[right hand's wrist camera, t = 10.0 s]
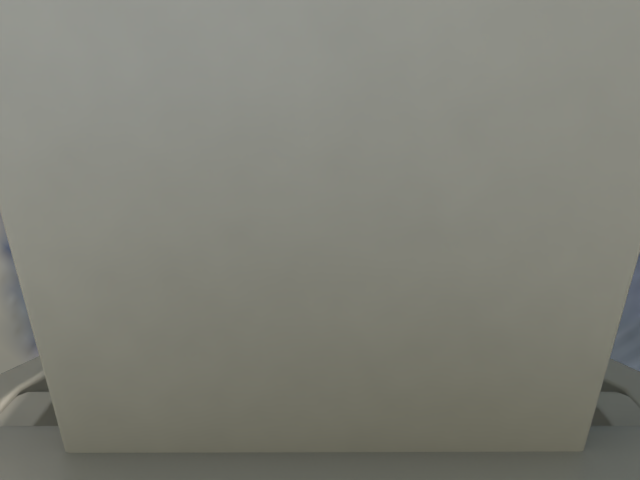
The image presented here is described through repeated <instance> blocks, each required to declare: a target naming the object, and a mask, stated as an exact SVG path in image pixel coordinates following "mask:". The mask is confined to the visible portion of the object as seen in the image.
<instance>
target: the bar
mask: <svg viewBox="0 0 640 480" xmlns="http://www.w3.org/2000/svg"><path fill="white" fill-rule="evenodd" d="M0 212H1V216H2V219H3V223H4V227H5V230H6V234H7V238H8V241H9V245H10V249H11V253H12V256H13V260H14V264H15V267H16V271H17V275H18V278H19V282H20V286H21V289H22V293H23V297H24V300H25V304H26V308H27V312H28V315H29V319H30V323H31V326H32V330H33V334H34V337H35V341H36V345H37V348H38V352H39V356H40V360H41V363H42V367H43V371H44V374H45V378H46V382H47V385H48V389H49V393H50V396H51V400H52V404H53V407H54V411H55V415H56V419H57V422H58V426H59V430H60V433H61V437H62V441H63V444H64V448H65V452H68V453H252V452H581V451H584V448H585V444H586V441H587V437H588V434H589V430H590V426H591V423H592V419H593V416H594V412H595V409H596V405H597V401H598V398H599V394H600V391H601V387H602V384H603V380H604V377H605V373H606V369H607V366H608V362H609V359H610V355H611V352H612V348H613V344H614V341H615V337H616V334H617V330H618V327H619V323H620V320H621V316H622V312H623V309H624V305H625V302H626V298H627V295H628V291H629V288H630V284H631V280H632V277H633V273H634V270H635V266H636V263H637V259H638V255H639V252H640V0H0Z"/></svg>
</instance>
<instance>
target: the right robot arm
mask: <svg viewBox="0 0 640 480" xmlns="http://www.w3.org/2000/svg"><path fill="white" fill-rule="evenodd" d="M0 480H640V372H639V371H637V370H634V369H632V368H630V367H628V366H626V365H623V364H621V363H619V362H617V361H615V360H612V359H609V362H608V366H607V369H606V373H605V377H604V380H603V384H602V387H601V391H600V394H599V398H598V401H597V405H596V409H595V412H594V416H593V419H592V423H591V426H590V430H589V434H588V437H587V441H586V444H585V448H584V451H581V452H252V453H68V452H65V448H64V444H63V441H62V437H61V433H60V430H59V426H58V422H57V419H56V415H55V411H54V407H53V404H52V400H51V396H50V393H49V389H48V385H47V382H46V378H45V374H44V371H43V367H42V363H41V360H40V356H39V357H36V358H34V359H32V360H30V361H28V362H25V363H23V364H21V365H19V366H17V367H15V368H12V369H10V370H8V371H6V372H4V373H1V374H0Z"/></svg>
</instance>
